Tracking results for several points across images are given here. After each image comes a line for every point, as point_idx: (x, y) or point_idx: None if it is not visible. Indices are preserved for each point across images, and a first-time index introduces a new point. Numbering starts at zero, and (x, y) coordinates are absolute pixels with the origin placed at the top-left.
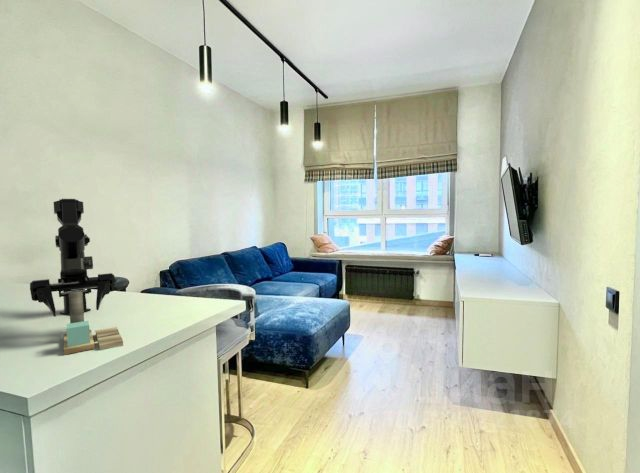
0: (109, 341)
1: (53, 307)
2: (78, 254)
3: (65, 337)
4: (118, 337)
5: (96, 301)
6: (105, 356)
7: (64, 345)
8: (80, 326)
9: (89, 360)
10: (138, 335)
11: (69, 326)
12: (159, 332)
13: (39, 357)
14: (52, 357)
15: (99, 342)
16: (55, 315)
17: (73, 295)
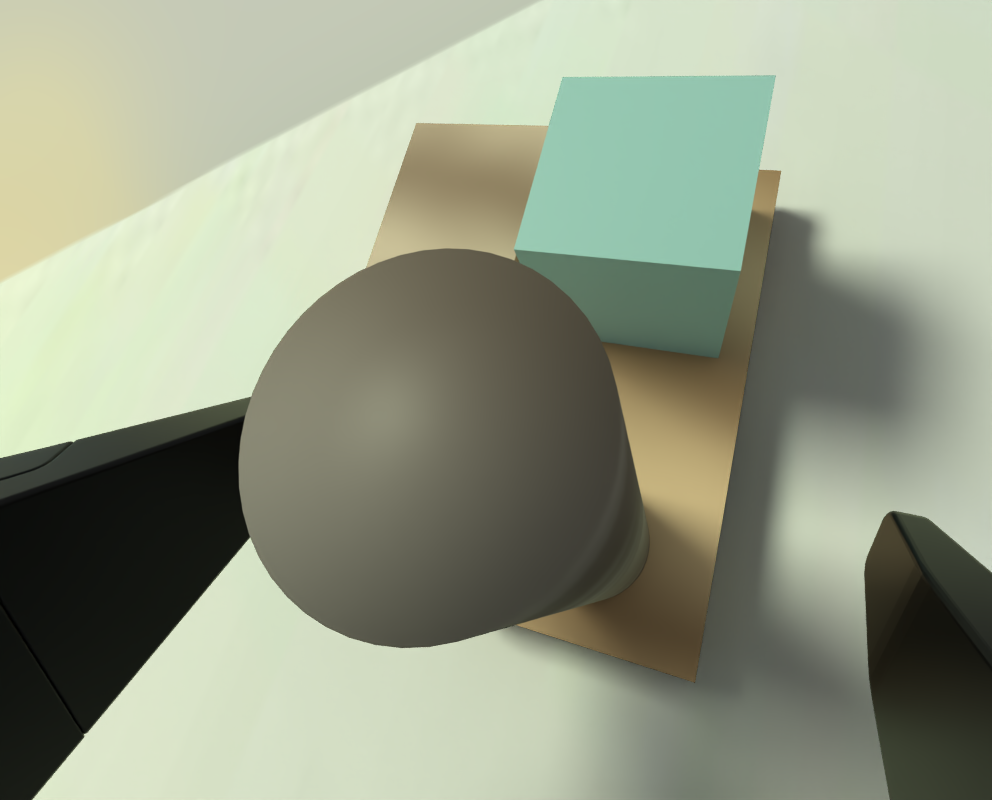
0: (477, 162)
1: (980, 607)
2: None
3: (707, 524)
4: (403, 207)
5: (221, 423)
6: (567, 50)
7: (759, 274)
8: (639, 79)
9: (655, 39)
10: (278, 293)
11: (731, 145)
12: (184, 258)
13: (947, 307)
14: (850, 237)
15: (531, 184)
16: (878, 535)
17: (531, 279)
